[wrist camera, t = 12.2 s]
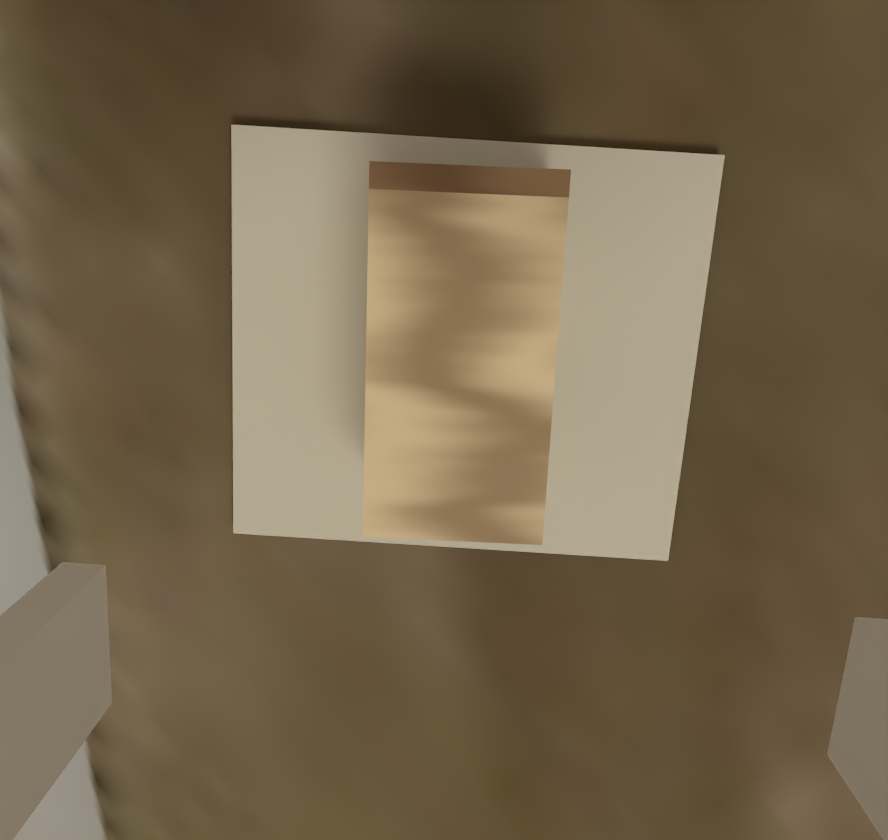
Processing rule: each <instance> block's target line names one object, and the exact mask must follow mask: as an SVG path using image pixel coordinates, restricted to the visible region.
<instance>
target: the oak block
mask: <svg viewBox="0 0 888 840" xmlns="http://www.w3.org/2000/svg"><path fill="white" fill-rule="evenodd" d="M570 178H571V170H568V169H544V168H521V167H497V166H474V165H450V164H426V163H403V162H379V161H369V209H368V265H367V322H366V378H365V435H364V491H363V537H379V538H401V539H422V540H444V541H466V542H487V543H509V544H531V545H542V541H543V528H544V515H545V502H546V489H547V476H548V463H549V450H550V437H551V424H552V411H553V399H554V386H555V373H556V360H557V347H558V334H559V321H560V308H561V295H562V282H563V269H564V256H565V243H566V230H567V217H568V204H569V191H570Z"/></svg>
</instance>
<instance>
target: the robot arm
mask: <svg viewBox="0 0 888 840" xmlns="http://www.w3.org/2000/svg"><path fill="white" fill-rule="evenodd" d="M111 704H112V694H111V672H110V650H109V628H108V607H107V585H106V565H96V564H82V563H67V562H62V563H61V564H60V565H59V566H57V567H56V568H55V569H54V570H53V571H52V572H51V573H49V574H48V575H47V576H46V577H45V578H44V579H42V580H41V581H40V582H39V583H38V584H37V585H36V586H34V587H33V588H32V589H31V590H30V591H28V592H27V593H26V594H25V595H24V596H23V597H22V598H20V599H19V600H18V601H17V602H16V603H15V604H13V605H12V606H11V607H10V608H9V609H8V610H6V611H5V612H4V613H3V614H2V615H1V616H0V840H13V839H14V837H15V836H16V834H17V833H18V832H19V830H20V829H21V828H22V826H23V825H24V823H25V822H26V821H27V819H28V818H29V816H30V815H31V814H32V812H33V811H34V810H35V808H36V807H37V805H38V804H39V803H40V801H41V800H42V799H43V797H44V796H45V794H46V793H47V792H48V790H49V789H50V788H51V786H52V785H53V783H54V782H55V781H56V779H57V778H58V776H59V775H60V774H61V772H62V771H63V770H64V768H65V767H66V766H67V764H68V763H69V761H70V760H71V759H72V757H73V756H74V755H75V753H76V752H77V750H78V749H79V748H80V746H81V745H82V744H83V742H84V741H85V739H86V738H87V737H88V735H89V734H90V733H91V731H92V730H93V728H94V727H95V726H96V724H97V723H98V722H99V720H100V719H101V717H102V716H103V715H104V713H105V712H106V711H107V709H108V708H109V706H110V705H111ZM827 755H828V756H829V758H830V759H831V761H832V762H833V764H834V766H835V767H836V769H837V770H838V772H839V773H840V775H841V776H842V778H843V779H844V781H845V782H846V784H847V785H848V787H849V788H850V790H851V791H852V793H853V794H854V796H855V798H856V799H857V801H858V802H859V804H860V805H861V807H862V808H863V810H864V811H865V813H866V814H867V816H868V817H869V819H870V820H871V822H872V823H873V825H874V826H875V828H876V830H877V831H878V833H879V834H880V836H881V837H882V839H883V840H888V619H877V618H863V617H855V620H854V625H853V630H852V635H851V640H850V645H849V650H848V655H847V660H846V665H845V669H844V674H843V679H842V684H841V689H840V694H839V699H838V704H837V709H836V714H835V719H834V723H833V728H832V733H831V738H830V743H829V748H828V753H827Z"/></svg>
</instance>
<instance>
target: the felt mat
mask: <svg viewBox="0 0 888 840" xmlns="http://www.w3.org/2000/svg"><path fill="white" fill-rule="evenodd" d="M231 148H232V349H233V533H238V534H254V535H269V536H285V537H301V538H317V539H332V540H348V541H364V542H379V543H395V544H411V545H427V546H442V547H458V548H474V549H490V550H505V551H521V552H537V553H552V554H568V555H584V556H600V557H615V558H631V559H647V560H663V561H668V558H669V551H670V544H671V536H672V529H673V522H674V515H675V508H676V501H677V493H678V486H679V479H680V472H681V465H682V458H683V451H684V443H685V436H686V429H687V422H688V415H689V408H690V400H691V393H692V386H693V379H694V372H695V365H696V358H697V350H698V343H699V336H700V329H701V322H702V315H703V307H704V300H705V293H706V286H707V279H708V272H709V265H710V257H711V250H712V243H713V236H714V229H715V222H716V214H717V207H718V200H719V193H720V186H721V179H722V172H723V164H724V157H725V155H715V154H699V153H683V152H666V151H650V150H634V149H618V148H602V147H586V146H570V145H553V144H537V143H521V142H505V141H489V140H473V139H457V138H440V137H424V136H408V135H392V134H376V133H360V132H344V131H327V130H311V129H295V128H279V127H263V126H247V125H231ZM369 161H379V162H403V163H426V164H450V165H474V166H497V167H521V168H544V169H568V170H571V178H570V191H569V204H568V217H567V230H566V243H565V256H564V269H563V282H562V295H561V308H560V321H559V334H558V347H557V360H556V373H555V386H554V399H553V411H552V424H551V437H550V450H549V463H548V476H547V489H546V502H545V515H544V528H543V541H542V545H531V544H509V543H487V542H466V541H444V540H422V539H401V538H379V537H363V491H364V435H365V378H366V322H367V265H368V209H369Z"/></svg>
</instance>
